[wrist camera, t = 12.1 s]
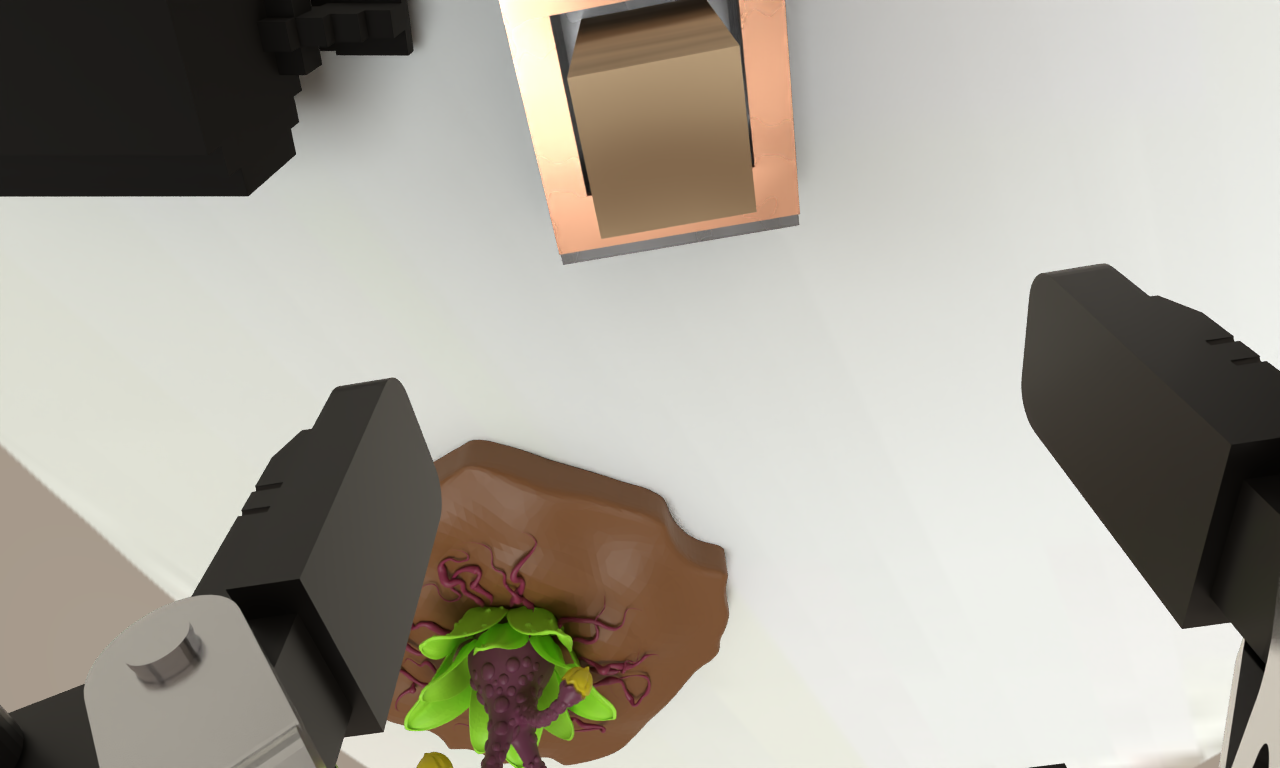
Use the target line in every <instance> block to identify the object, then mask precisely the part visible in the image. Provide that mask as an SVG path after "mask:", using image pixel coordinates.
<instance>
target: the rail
mask: <svg viewBox="0 0 1280 768" xmlns="http://www.w3.org/2000/svg"><path fill="white" fill-rule="evenodd" d="M673 1H678V0H499V3H500V7H501V11H502V15H503V20H504V24H505V28H506V32H507V36H508V41H509V45H510V49H511V53H512V57H513V62H514V66H515V70H516V74H517V78H518V83H519V87H520V91H521V95H522V99H523V104H524V108H525V112H526V116H527V120H528V124H529V129H530V133H531V137H532V141H533V145H534V150H535V154H536V158H537V162H538V166H539V171H540V175H541V179H542V183H543V187H544V192H545V196H546V200H547V204H548V208H549V213H550V217H551V221H552V225H553V229H554V234H555V238H556V242H557V246H558V250H559V254H560V255H561V257H562V261H563V265H565V264H571V263H577V262H583V261H589V260H595V259H601V258H607V257H612V256H618V255H624V254H630V253H636V252H642V251H648V250H654V249H660V248H666V247H672V246H678V245H684V244H690V243H696V242H701V241H707V240H713V239H719V238H725V237H731V236H737V235H743V234H749V233H755V232H761V231H767V230H773V229H779V228H784V227H790V226H796V225H799V217H798V214H800V210H799V195H798V181H797V167H796V152H795V138H794V123H793V109H792V95H791V80H790V66H789V51H788V37H787V22H786V8H785V0H707V1H708V2H709V4H710V5H711V7H712V8H713V9H714V11H715V12H716V14H717V15H718V16H719V18H720V19H721V21H722V22H723V23H724V25H725V26H726V27H727V29H728V30H729V32H730V33H731V34H732V36H733V37H734V39H735V40H736V41H737V43H738V44H739V46H740V55H741V65H742V74H743V84H744V94H745V103H746V113H747V123H748V132H749V142H750V152H751V161H752V171H753V181H754V190H755V200H756V210H757V212H754V213H748V214H742V215H736V216H731V217H725V218H719V219H714V220H708V221H702V222H696V223H691V224H685V225H679V226H674V227H668V228H662V229H656V230H651V231H645V232H639V233H634V234H628V235H622V236H616V237H611V238H605V239H601V236H600V231H599V226H598V221H597V217H596V212H595V207H594V203H593V198H592V193H591V188H590V184H589V179H588V174H587V170H586V165H585V160H584V156H583V151H582V146H581V141H580V137H579V132H578V127H577V123H576V118H575V113H574V108H573V104H572V99H571V94H570V90H569V85H568V80H567V76H568V72H569V68H570V64H571V60H572V55H573V51H574V47H575V43H576V39H577V35H578V30H579V26H580V22H581V19H586V18H591V17H596V16H601V15H606V14H611V13H617V12H622V11H627V10H632V9H637V8H642V7H647V6H653V5H658V4H663V3H668V2H673Z"/></svg>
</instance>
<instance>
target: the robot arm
mask: <svg viewBox="0 0 1280 768" xmlns="http://www.w3.org/2000/svg"><path fill="white" fill-rule="evenodd" d="M1233 337H1234V336H1233V335H1231V334H1230V333H1229V332H1227V331H1226V330H1225V329H1223V328H1222V327H1221V326H1219V325H1218V324H1217V323H1215V322H1214V321H1213V320H1211V319H1210V318H1209V317H1207V316H1206V315H1205V314H1203V313H1202V312H1199V311H1197V310H1194V309H1192V308H1189V307H1186V306H1184V305H1181V304H1179V303H1176V302H1173V301H1171V300H1168V299H1166V298H1163V297H1160V296H1158V295H1157V296H1151V297H1150V296H1148V295H1147V294H1146V293H1145V292H1143V291H1142V290H1141V289H1140V288H1138V287H1137V286H1136V285H1135V284H1133V283H1132V282H1131V281H1130V280H1128V279H1127V278H1126V277H1125V276H1123V275H1122V274H1121V273H1120V272H1118V271H1117V270H1116V269H1115V268H1113V267H1112V266H1110V265H1108V264H1096V265H1090V266H1084V267H1078V268H1072V269H1066V270H1059V271H1053V272H1047V273H1041V274H1039V275H1038V276H1037V277H1036V278H1035V279H1034V281H1033V283H1032V285H1031V289H1030V295H1029V305H1028V316H1027V327H1026V338H1025V348H1024V359H1023V370H1022V382H1021V388H1022V399H1023V404H1024V408H1025V412H1026V415H1027V418H1028V420H1029V423H1030V425H1031V427H1032V429H1033V430H1034V432H1035V433H1036V434H1037V436H1038V437H1039V438H1040V440H1041V441H1042V442H1043V444H1044V445H1045V446H1046V448H1047V449H1048V450H1049V452H1050V453H1051V454H1052V456H1053V457H1054V458H1055V460H1056V461H1057V462H1058V464H1059V465H1060V466H1061V468H1062V469H1063V470H1064V472H1065V473H1066V474H1067V476H1068V477H1069V478H1070V480H1071V481H1072V482H1073V484H1074V485H1075V487H1076V488H1077V489H1078V491H1079V492H1080V493H1081V495H1082V496H1083V497H1084V499H1085V500H1086V501H1087V503H1088V504H1089V505H1090V507H1091V508H1092V509H1093V511H1094V512H1095V513H1096V515H1097V516H1098V517H1099V519H1100V520H1101V521H1102V523H1103V524H1104V525H1105V527H1106V528H1107V529H1108V531H1109V532H1110V533H1111V535H1112V536H1113V537H1114V539H1115V540H1116V541H1117V543H1118V544H1119V545H1120V547H1121V548H1122V549H1123V551H1124V552H1125V553H1126V555H1127V556H1128V557H1129V559H1130V560H1131V561H1132V563H1133V564H1134V565H1135V567H1136V568H1137V569H1138V571H1139V572H1140V573H1141V575H1142V576H1143V577H1144V579H1145V580H1146V581H1147V583H1148V584H1149V585H1150V587H1151V588H1152V589H1153V591H1154V592H1155V593H1156V595H1157V596H1158V597H1159V599H1160V600H1161V601H1162V603H1163V604H1164V606H1165V607H1166V608H1167V610H1168V611H1169V612H1170V614H1171V615H1172V616H1173V618H1174V619H1175V620H1176V622H1177V623H1178V624H1179V626H1180V627H1181V628H1182V629H1185V628H1193V627H1200V626H1208V625H1215V624H1223V623H1230V622H1231V623H1232V624H1233V626H1234V627H1235V628H1236V629H1237V630H1238V632H1239V633H1240V634H1241V635H1242V637H1243V639H1242V642H1241V645H1240V648H1239V651H1238V655H1237V658H1236V661H1235V667H1234V674H1233V680H1232V687H1231V693H1230V699H1229V706H1228V712H1227V718H1226V725H1225V731H1224V738H1223V744H1222V750H1221V757H1220V763H1219V768H1280V371H1279V370H1278V369H1276V368H1275V367H1274V366H1272V365H1271V364H1270V363H1268V362H1267V361H1264V362H1261V361H1260V356H1259V355H1258V354H1257V353H1255V352H1254V351H1253V350H1251V349H1250V348H1249V347H1247V346H1246V345H1245V344H1243V343H1242V342H1241V341H1236V342H1235V341H1234V339H1233ZM255 487H256V492H252V493H251V495H250V496H249V498H248V500H247V502H246V503H245V505H244V507H243V508H242V510H241V511H242V516H238V517H237V519H236V520H235V522H234V524H233V526H232V527H231V529H230V531H229V533H228V534H227V536H226V538H225V539H224V541H223V543H222V545H221V546H220V548H219V550H218V552H217V553H216V555H215V557H214V558H213V560H212V562H211V564H210V565H209V567H208V569H207V571H206V572H205V574H204V576H203V577H202V579H201V581H200V583H199V584H198V586H197V588H196V589H195V591H194V593H193V595H192V596H191V597H188V598H185V599H181V600H178V601H175V602H173V603H170V604H168V605H165V606H163V607H161V608H159V609H157V610H155V611H153V612H151V613H149V614H148V615H146V616H144V617H142V618H141V619H139V620H138V621H136V622H135V623H134V624H132V625H131V626H129V627H128V628H127V629H126V630H124V631H123V632H122V633H121V634H120V635H118V636H117V637H116V638H115V639H114V640H113V641H112V642H111V643H110V644H109V645H108V646H107V647H106V648H105V649H104V651H103V652H102V653H101V654H100V656H99V657H98V658H97V659H96V661H95V663H94V664H93V666H92V668H91V669H90V671H89V674H88V676H87V679H86V681H85V684H83V685H81V686H78V687H75V688H73V689H70V690H68V691H65V692H62V693H60V694H57V695H55V696H52V697H49V698H47V699H44V700H42V701H39V702H37V703H34V704H31V705H29V706H26V707H24V708H21V709H18V710H16V711H13V712H11V713H7V712H6V711H5V710H4V709H3V707H1V705H0V768H338V767H337V765H336V761H337V758H338V755H339V752H340V749H341V745H342V742H343V739H344V737H350V736H358V735H365V734H373V733H380V732H384V728H385V725H386V721H387V717H388V713H389V710H390V706H391V702H392V698H393V695H394V691H395V687H396V683H397V680H398V676H399V672H400V668H401V665H402V661H403V657H404V653H405V650H406V646H407V642H408V638H409V635H410V631H411V627H412V623H413V619H414V616H415V612H416V608H417V604H418V601H419V597H420V593H421V589H422V586H423V582H424V578H425V574H426V571H427V567H428V563H429V559H430V556H431V552H432V548H433V544H434V541H435V537H436V533H437V529H438V526H439V522H440V518H441V510H442V497H441V488H440V482H439V477H438V474H437V471H436V468H435V465H434V463H433V460H432V457H431V455H430V452H429V450H428V447H427V444H426V442H425V439H424V437H423V434H422V431H421V429H420V426H419V424H418V421H417V418H416V416H415V413H414V411H413V408H412V405H411V403H410V400H409V398H408V395H407V393H406V390H405V389H404V387H403V385H402V384H401V382H400V381H399V380H398V379H396V378H387V379H381V380H375V381H369V382H362V383H356V384H350V385H344V386H339V387H336V388H335V389H334V390H333V391H332V393H331V394H330V396H329V398H328V400H327V402H326V404H325V406H324V407H323V409H322V411H321V413H320V415H319V417H318V419H317V420H316V422H315V424H314V426H313V428H312V429H308V430H302V431H301V432H300V433H298V434H297V435H296V436H295V437H294V438H293V439H292V440H291V441H290V442H289V443H287V444H286V445H285V446H284V447H283V448H282V449H281V450H280V451H279V452H278V453H276V454H275V455H274V456H273V457H272V458H271V460H270V462H269V464H268V465H267V467H266V469H265V470H264V472H263V474H262V476H261V477H260V479H259V481H258V483H257V484H256V486H255ZM1031 768H1067V767H1066V765H1065V763H1063V764H1055V765H1047V766H1039V767H1031Z"/></svg>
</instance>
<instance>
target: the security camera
mask: <svg viewBox="0 0 1280 768" xmlns="http://www.w3.org/2000/svg"><path fill="white" fill-rule="evenodd" d="M310 1H311V3H310ZM319 49H320V51H336V55H410V54H411V53H412V52H413V43H412V35H411V28H410V20H409V12H408V4H407V0H0V196H249V195H250V194H251V193H253V192H254V191H255V190H256V189H257V188H258V187H259V186H261V185H262V184H263V183H264V182H265V181H266V180H267V179H269V178H270V177H271V176H272V175H273V174H274V173H275V172H277V171H278V170H279V169H280V168H281V167H282V166H283V165H285V164H286V163H287V162H288V161H289V160H290V159H291V158H292V157H294V156H295V155H296V151H295V146H294V142H293V137H292V132H291V128H292V127H294V126H295V125H296V124H297V123H299V119H298V114H297V110H296V105H295V100H294V96H295V95H296V94H298V93H299V92H301V91H302V88H301V83H300V78H299V75H307V74H308V73H310V72H312V71H313V70H315V69H316V68H318V67H319V66H321V65H322V62H321V56H320V51H319Z"/></svg>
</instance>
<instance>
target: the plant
mask: <svg viewBox="0 0 1280 768" xmlns="http://www.w3.org/2000/svg"><path fill="white" fill-rule="evenodd" d="M433 463H434V465H435V468H436V471H437V474H438V477H439V482H440V488H441V497H442V510H441V518H440V522H439V526H438V529H437V533H436V537H435V541H434V544H433V548H432V552H431V556H430V559H429V563H428V567H427V571H426V574H425V578H424V582H423V586H422V589H421V593H420V597H419V601H418V604H417V608H416V612H415V616H414V619H413V623H412V627H411V631H410V635H409V638H408V642H407V646H406V650H405V653H404V657H403V661H402V665H401V668H400V672H399V676H398V680H397V683H396V687H395V691H394V695H393V698H392V702H391V706H390V710H389V713H388V717H387V720H388V721H390V722H393V723H397V724H401V725H404V726H405V729H406V730H409V731H425V730H428V731H431V732H433V733H435V734H436V735H438V736H439V737H440V738H441V739H442V740H443V741H444V742H445V743H446V745H447V746H448V748H449V749H470V750H474V751H475V752H476V753H478V754H484V755H485V758H484V759H483V760H482V762H481V766H482V767H481V768H503V764H505V763H510V764H511V765H512V766H514V767H515V768H547V767H546V766H545V763H544V762H543V761H542V760H541V757H548V758H552V759H554V760H556V761H557V762H559V763H561V764H563V765H573V764H578V763H583V762H588V761H592V760H596V759H599V758H602V757H605V756H608V755H610V754H613V753H615V752H616V751H618V750H620V749H621V748H623V747H624V746H625V745H626V744H627V743H628V742H629V741H630V740H631V739H632V738H633V737H634V736H635V735H636V734H637V733H638V732H639V731H640V730H641V729H642V728H643V727H644V726H645V724H646V723H647V722H648V721H649V720H650V719H651V718H653V717H654V716H655V715H656V714H657V713H658V712H659V711H660V710H661V709H663V708H664V707H665V706H666V705H667V704H668V703H669V702H670V700H671V699H672V698H673V697H674V696H675V695H676V694H677V693H678V691H679V690H680V689H681V688H682V687H683V685H684V684H685V683H686V682H687V680H688V679H689V678H690V677H691V676H692V675H693V674H694V672H696V671H697V670H698V669H699V668H701V667H702V666H703V665H705V664H706V663H708V662H710V661H711V660H712V659H713V658H714V657H715V656H716V655H717V654H718V652H719V648H720V639H721V636H722V634H723V633H724V631H725V628H726V625H727V622H728V618H729V608H728V602H727V596H726V584H727V578H728V573H727V567H726V560H725V553H724V549H723V548H722V547H720V546H718V545H715V544H710V543H706V542H702V541H699V540H697V539H695V538H693V537H691V536H689V535H688V534H686V533H685V532H684V531H683V530H682V529H681V528H680V527H679V526H678V525H677V524H676V523H675V521H674V520H673V518H672V516H671V514H670V512H669V510H668V507H667V504H666V502H665V500H664V499H663V498H662V497H661V496H660V495H658V494H656V493H654V492H652V491H650V490H648V489H645V488H643V487H639V486H636V485H632V484H628V483H624V482H621V481H618V480H615V479H612V478H609V477H607V476H603V475H600V474H597V473H593V472H590V471H586V470H583V469H580V468H576V467H573V466H569V465H565V464H562V463H558V462H555V461H552V460H549V459H545V458H543V457H540V456H537V455H535V454H532V453H529V452H526V451H523V450H520V449H517V448H513V447H510V446H506V445H502V444H498V443H494V442H490V441H485V440H472V441H469V442H467V443H465V444H464V445H462V446H461V447H459V448H457V449H455V450H453V451H452V452H450V453H448V454H447V455H445V456H444V457H442V458H440V459H438V460H436V461H435V462H433ZM417 768H453V766H452V763H451V762H450V760H449V759H448V758H447V757H446V756H445V755H443V754H441V753H438V752H431V753H425V754H424V757H423V758H422V759H421V761H420V762H419V764H418V765H417Z"/></svg>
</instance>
